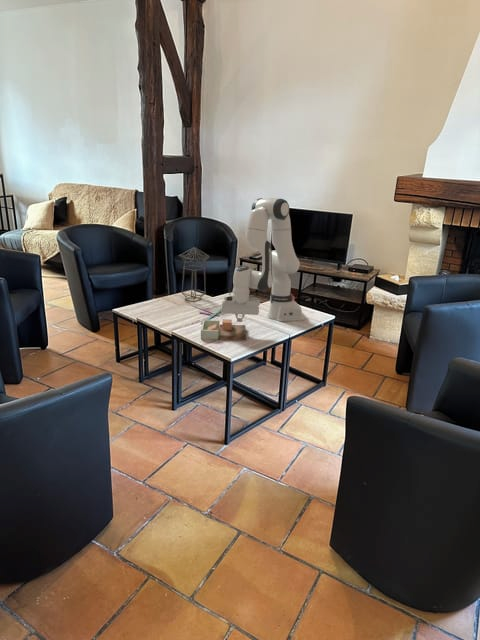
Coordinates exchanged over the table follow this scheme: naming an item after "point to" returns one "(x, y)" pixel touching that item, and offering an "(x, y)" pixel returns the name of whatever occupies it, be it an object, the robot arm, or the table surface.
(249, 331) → the table surface
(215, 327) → the tile
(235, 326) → the brown wooden board
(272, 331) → the table surface
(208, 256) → the geometric lantern
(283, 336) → the table surface
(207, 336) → the tray
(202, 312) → the squeegee
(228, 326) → the light brown wooden block
